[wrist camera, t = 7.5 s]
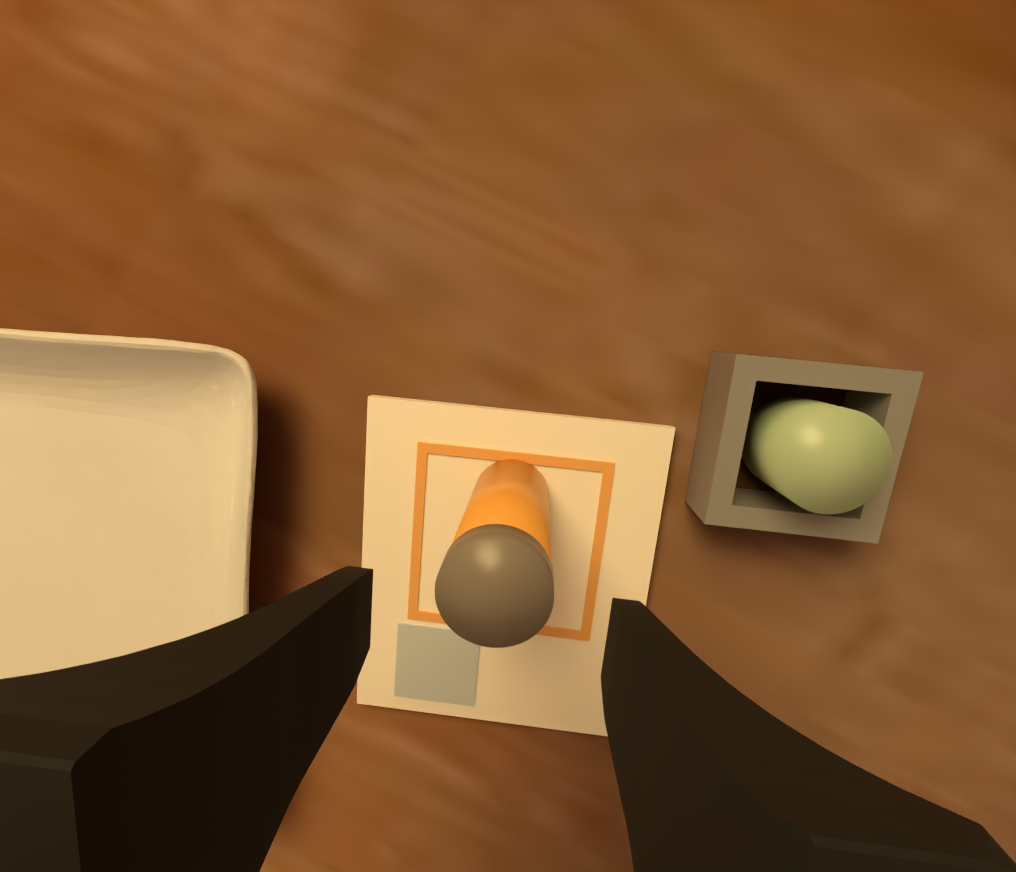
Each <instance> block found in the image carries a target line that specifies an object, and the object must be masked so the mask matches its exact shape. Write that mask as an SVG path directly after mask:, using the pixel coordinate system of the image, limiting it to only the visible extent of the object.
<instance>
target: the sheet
mask: <svg viewBox="0 0 1016 872" xmlns="http://www.w3.org/2000/svg"><path fill="white" fill-rule="evenodd" d="M674 434H675V428H674V427H673V426H669V425H659V424H649V423H640V422H630V421H620V420H611V419H601V418H591V417H582V416H572V415H562V414H553V413H543V412H534V411H524V410H514V409H505V408H495V407H485V406H476V405H466V404H456V403H447V402H437V401H427V400H418V399H408V398H398V397H389V396H379V395H370V396H368V410H367V437H366V465H365V492H364V520H363V547H362V568H369V569H373V590H372V614H371V639H370V649H369V651H368V654H367V657H366V659H365V662H364V664H363V667H362V669H361V672H360V674H359V676H358V685H357V703H358V704H366V705H373V706H381V707H389V708H396V709H404V710H411V711H419V712H426V713H434V714H442V715H449V716H457V717H464V718H472V719H479V720H487V721H495V722H502V723H510V724H517V725H525V726H533V727H540V728H548V729H555V730H563V731H570V732H578V733H586V734H593V735H601V736H608V735H607V730H606V725H605V720H604V711H603V701H602V688H601V670H602V663H603V657H604V650H605V644H606V637H607V630H608V624H609V617H610V610H611V604H612V598H620V599H628V600H637V601H640V602H641V603H643V604H644V605H645V606H646V601H647V595H648V589H649V583H650V577H651V571H652V565H653V559H654V553H655V547H656V541H657V535H658V530H659V524H660V518H661V512H662V506H663V500H664V494H665V488H666V482H667V476H668V470H669V464H670V458H671V452H672V446H673V440H674ZM506 459H516V460H521V461H524V462H527V463H529V464H531V465H532V466H534V467H535V468H536V469H537V470H538V471H539V472H540V473H541V474H542V475H543V477H544V478H545V480H546V483H547V485H548V489H549V509H550V540H551V564H552V568H553V577H554V604H553V609H552V612H551V615H550V617H549V619H548V621H547V623H546V624H545V625H544V627H543V628H542V629H541V630H540V631H539V632H538V633H537V634H536V635H535V636H533V637H532V638H530V639H529V640H527V641H525V642H523V643H521V644H518V645H515V646H511V647H505V648H489V647H484V646H479V645H476V644H473V643H471V642H469V641H467V640H465V639H463V638H461V637H460V636H458V635H457V634H456V633H454V632H453V631H452V630H451V629H450V628H449V627H448V625H447V624H446V623H445V622H444V620H443V619H442V617H441V615H440V613H439V611H438V608H437V605H436V601H435V581H436V578H437V575H438V572H439V570H440V567H441V565H442V562H443V560H444V557H445V555H446V553H447V551H448V549H449V547H450V546H451V545H452V542H453V540H454V537H455V535H456V532H457V530H458V527H459V525H460V522H461V520H462V517H463V515H464V512H465V510H466V507H467V505H468V502H469V500H470V497H471V495H472V492H473V490H474V487H475V485H476V482H477V480H478V478H479V476H480V475H481V473H482V472H483V471H484V470H485V469H486V468H487V467H488V466H490V465H491V464H493V463H495V462H498V461H501V460H506Z"/></svg>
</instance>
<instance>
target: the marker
mask: <svg viewBox="0 0 1016 872" xmlns="http://www.w3.org/2000/svg"><path fill="white" fill-rule="evenodd" d="M435 601H436V605H437V608H438V611H439V613H440V615H441V617H442V619H443V620H444V622H445V623H446V624H447V625H448V627H449V628H450V629H451V630H452V631H453V632H454V633H456V634H457V635H458V636H460V637H461V638H463V639H465V640H467V641H469V642H471V643H473V644H476V645H479V646H484V647H489V648H505V647H511V646H515V645H518V644H521V643H523V642H525V641H527V640H529V639H530V638H532V637H533V636H535V635H536V634H537V633H538V632H539V631H540V630H541V629H542V628H543V627H544V625H545V624H546V623H547V621H548V619H549V617H550V615H551V612H552V609H553V604H554V577H553V568H552V564H551V540H550V509H549V489H548V485H547V483H546V480H545V478H544V477H543V475H542V474H541V473H540V472H539V471H538V470H537V469H536V468H535V467H534V466H532V465H531V464H529V463H527V462H524V461H521V460H516V459H506V460H501V461H498V462H495V463H493V464H491V465H490V466H488V467H487V468H486V469H485V470H484V471H483V472H482V473H481V475H480V476H479V478H478V480H477V482H476V485H475V487H474V490H473V492H472V495H471V497H470V500H469V502H468V505H467V507H466V510H465V512H464V515H463V517H462V520H461V522H460V525H459V527H458V530H457V532H456V535H455V537H454V540H453V542H452V545H451V546H450V547H449V549H448V551H447V553H446V555H445V557H444V560H443V562H442V565H441V567H440V570H439V572H438V575H437V578H436V581H435Z"/></svg>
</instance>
